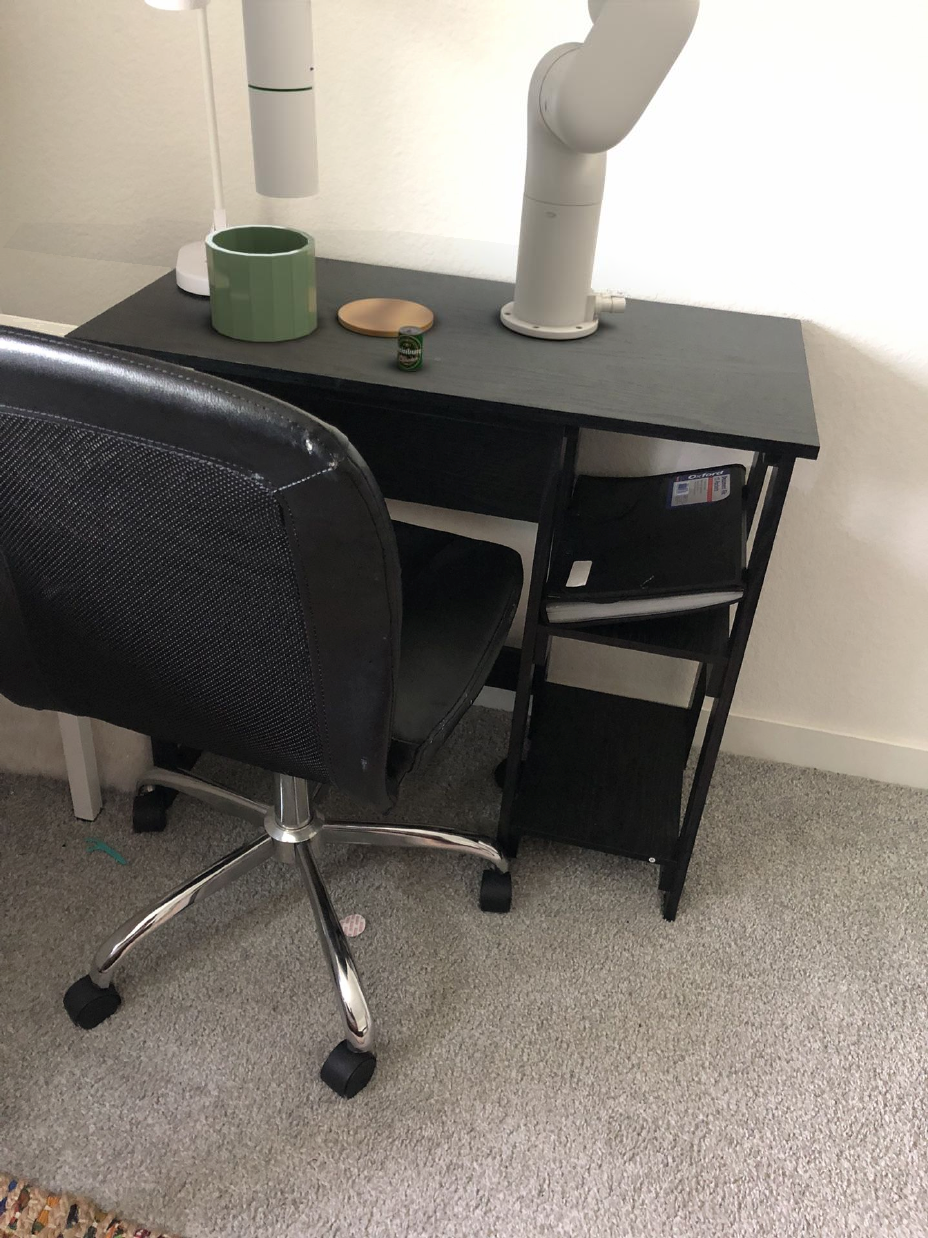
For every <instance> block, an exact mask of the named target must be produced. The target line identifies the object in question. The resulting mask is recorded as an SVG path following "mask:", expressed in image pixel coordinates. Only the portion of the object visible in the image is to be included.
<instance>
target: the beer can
mask: <svg viewBox="0 0 928 1238" xmlns="http://www.w3.org/2000/svg"><path fill="white" fill-rule="evenodd" d="M423 333H424V332H423V331H422V329H421V328H419V327H415V326H404V327H401V328H400V329H399V333H398V337H397V353H396V355H397V357H396V358H397V359H396V360H397V361H396V363H397V365H396V366H397V367H398V368H399V369H400V370H403V371H405V372H415V371H419V370H420V369H421V368H422V367H423V350H424V348H423V347H424V334H423Z"/></svg>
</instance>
